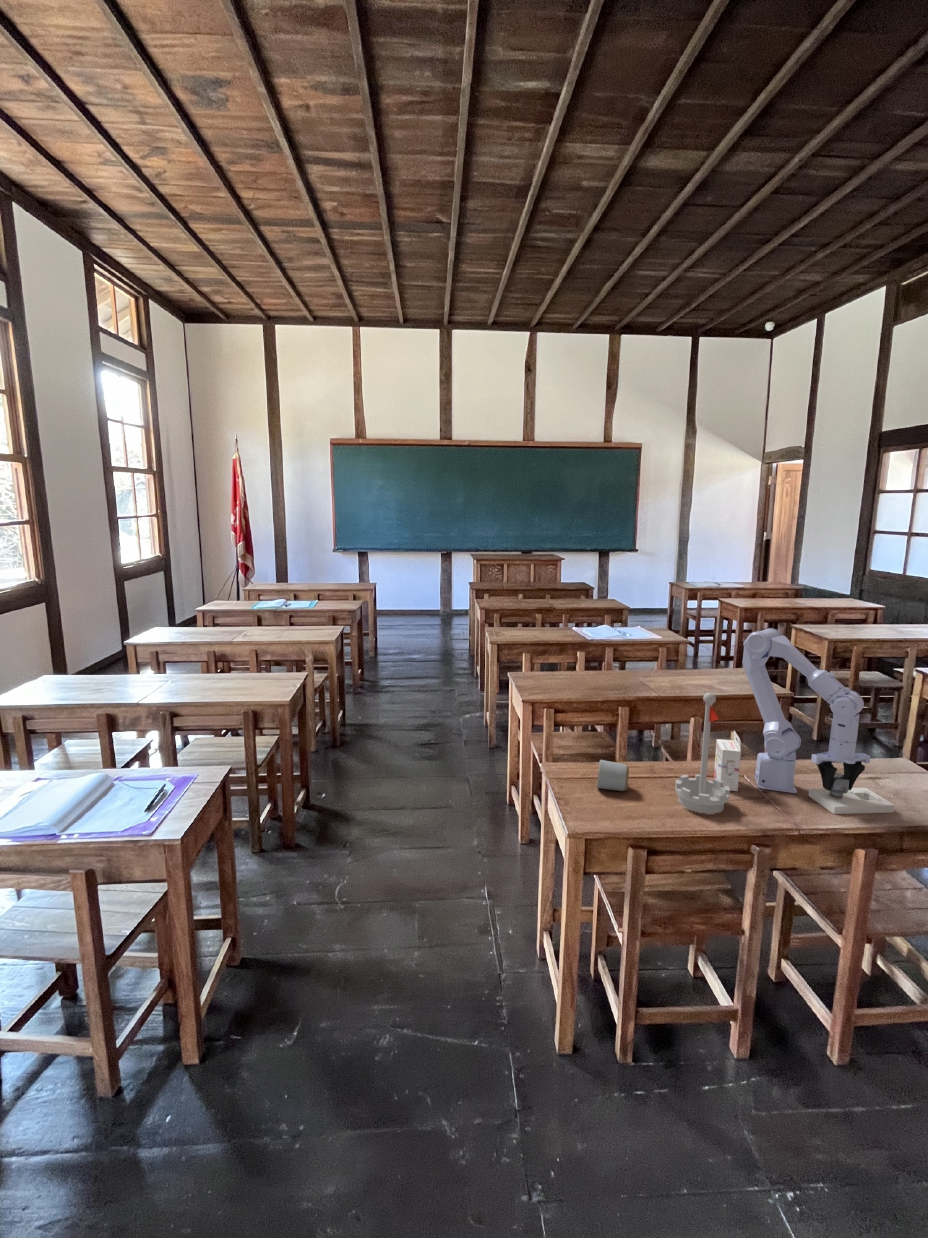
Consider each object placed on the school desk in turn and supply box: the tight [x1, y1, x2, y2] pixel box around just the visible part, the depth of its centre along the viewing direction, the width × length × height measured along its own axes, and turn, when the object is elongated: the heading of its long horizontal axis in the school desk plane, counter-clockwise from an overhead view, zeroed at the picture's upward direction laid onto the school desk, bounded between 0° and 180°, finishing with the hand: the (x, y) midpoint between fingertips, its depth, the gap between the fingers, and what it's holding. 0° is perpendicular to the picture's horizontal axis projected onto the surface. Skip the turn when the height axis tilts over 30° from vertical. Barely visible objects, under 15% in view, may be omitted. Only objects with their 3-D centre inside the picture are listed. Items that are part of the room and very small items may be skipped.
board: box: [807, 787, 896, 815], centre depth 155 cm, size 16×10×2 cm, turn 94°
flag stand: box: [674, 692, 730, 815], centre depth 152 cm, size 13×13×30 cm
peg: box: [829, 772, 850, 798], centre depth 154 cm, size 5×5×5 cm
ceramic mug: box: [596, 759, 630, 792], centre depth 163 cm, size 11×8×8 cm
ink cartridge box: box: [713, 730, 742, 792], centre depth 165 cm, size 9×5×15 cm, turn 168°
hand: (836, 788), depth 154 cm, fingers closed on peg, 5 cm apart
